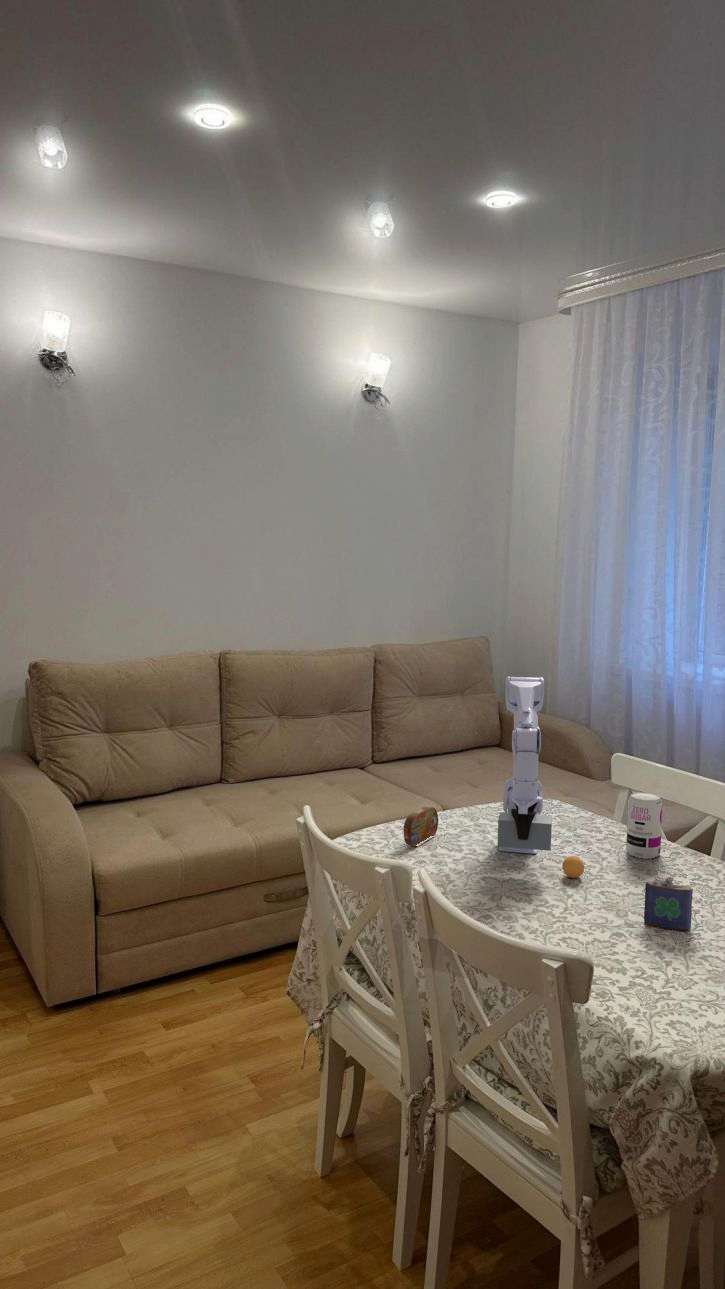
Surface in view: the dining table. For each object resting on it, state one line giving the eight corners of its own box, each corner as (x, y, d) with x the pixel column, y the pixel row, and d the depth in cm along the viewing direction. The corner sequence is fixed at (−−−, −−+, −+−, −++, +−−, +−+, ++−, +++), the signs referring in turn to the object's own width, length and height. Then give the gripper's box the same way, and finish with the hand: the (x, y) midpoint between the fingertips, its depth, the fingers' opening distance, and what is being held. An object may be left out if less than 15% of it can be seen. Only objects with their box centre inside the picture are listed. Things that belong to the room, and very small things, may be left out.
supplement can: (656, 849, 232) (658, 791, 230) (663, 860, 224) (666, 801, 222) (623, 847, 233) (625, 791, 231) (629, 859, 225) (632, 800, 223)
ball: (561, 880, 211) (562, 859, 211) (562, 872, 216) (562, 852, 216) (584, 882, 210) (584, 861, 210) (583, 874, 215) (584, 853, 214)
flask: (691, 927, 186) (693, 877, 185) (690, 933, 184) (692, 882, 182) (644, 920, 190) (646, 871, 188) (642, 926, 187) (644, 876, 186)
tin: (411, 851, 230) (412, 819, 229) (401, 849, 232) (401, 817, 231) (439, 834, 243) (439, 804, 242) (428, 832, 245) (429, 802, 244)
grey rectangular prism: (497, 846, 213) (498, 820, 212) (499, 837, 219) (500, 812, 218) (550, 850, 211) (551, 824, 210) (551, 841, 217) (551, 815, 216)
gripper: (541, 788, 205) (539, 846, 207) (543, 771, 219) (542, 826, 221) (509, 786, 207) (508, 843, 208) (514, 769, 221) (513, 824, 222)
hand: (523, 834), depth 215 cm, fingers closed on grey rectangular prism, 6 cm apart
